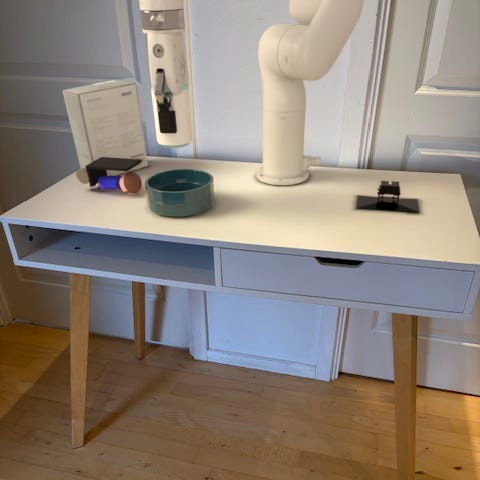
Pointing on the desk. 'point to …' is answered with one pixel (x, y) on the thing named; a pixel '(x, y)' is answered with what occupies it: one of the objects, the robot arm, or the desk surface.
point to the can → (182, 120)
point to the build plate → (388, 200)
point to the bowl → (180, 192)
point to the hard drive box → (106, 122)
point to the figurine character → (98, 176)
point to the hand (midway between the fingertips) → (173, 126)
